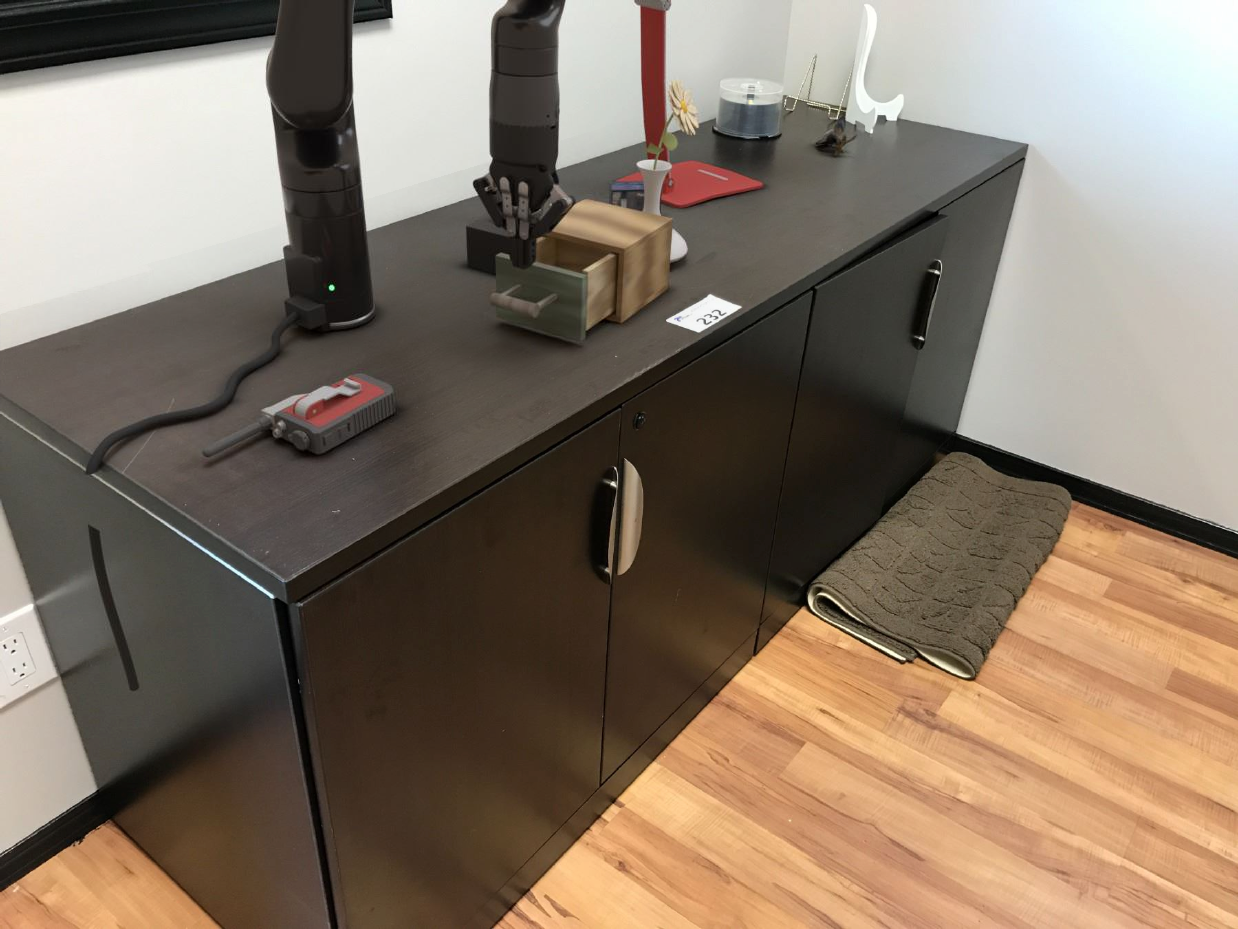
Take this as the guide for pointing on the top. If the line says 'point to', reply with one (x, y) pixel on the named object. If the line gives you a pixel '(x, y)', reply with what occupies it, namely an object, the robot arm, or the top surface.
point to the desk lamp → (685, 178)
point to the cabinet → (624, 249)
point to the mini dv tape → (628, 194)
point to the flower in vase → (658, 169)
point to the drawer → (558, 288)
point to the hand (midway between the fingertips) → (523, 266)
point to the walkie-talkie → (321, 415)
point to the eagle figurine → (836, 136)
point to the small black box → (485, 245)
